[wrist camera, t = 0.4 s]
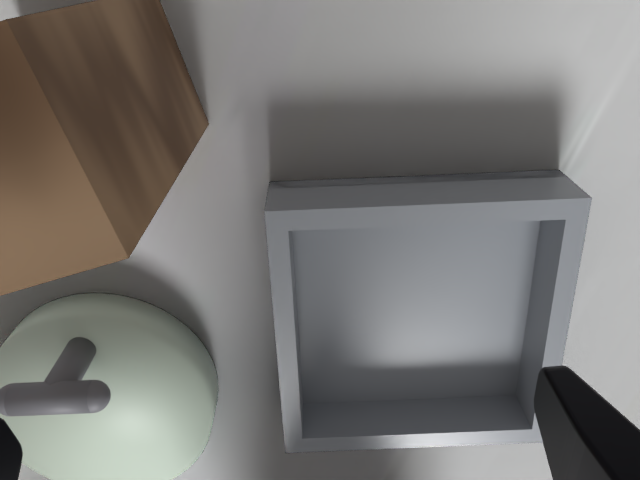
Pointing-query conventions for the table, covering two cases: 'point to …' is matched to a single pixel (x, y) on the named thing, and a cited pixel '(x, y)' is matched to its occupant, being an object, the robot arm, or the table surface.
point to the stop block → (88, 135)
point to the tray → (420, 305)
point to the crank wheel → (107, 390)
